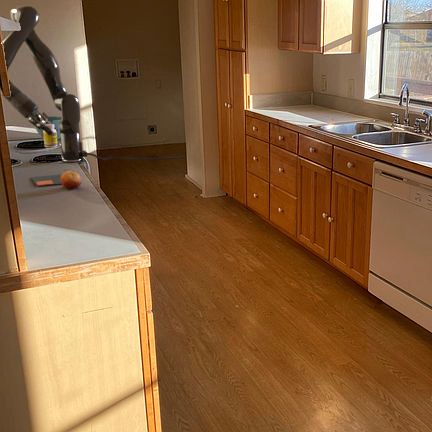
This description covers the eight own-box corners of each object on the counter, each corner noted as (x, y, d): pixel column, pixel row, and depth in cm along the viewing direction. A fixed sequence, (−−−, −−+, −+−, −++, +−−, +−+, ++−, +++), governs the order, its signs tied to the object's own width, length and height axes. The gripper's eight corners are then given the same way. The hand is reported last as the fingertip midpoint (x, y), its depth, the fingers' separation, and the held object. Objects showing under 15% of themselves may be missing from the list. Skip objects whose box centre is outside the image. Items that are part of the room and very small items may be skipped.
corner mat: (69, 174, 258) (69, 173, 258) (77, 182, 245) (77, 181, 245) (31, 178, 250) (31, 177, 250) (37, 186, 237) (37, 185, 237)
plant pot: (33, 137, 341) (31, 116, 338) (65, 135, 350) (63, 115, 346) (36, 142, 326) (34, 121, 322) (69, 140, 335) (68, 119, 331)
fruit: (68, 180, 242) (74, 166, 238) (81, 192, 240) (86, 177, 236) (53, 184, 235) (58, 170, 231) (66, 196, 233) (72, 181, 230)
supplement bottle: (53, 148, 252) (51, 125, 249) (42, 147, 252) (40, 125, 249) (60, 145, 257) (58, 124, 254) (49, 144, 258) (47, 123, 254)
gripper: (22, 100, 241) (53, 129, 245) (36, 97, 255) (65, 124, 259) (11, 113, 243) (42, 141, 247) (25, 108, 256) (54, 135, 260)
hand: (54, 132), depth 253 cm, fingers closed on supplement bottle, 5 cm apart
